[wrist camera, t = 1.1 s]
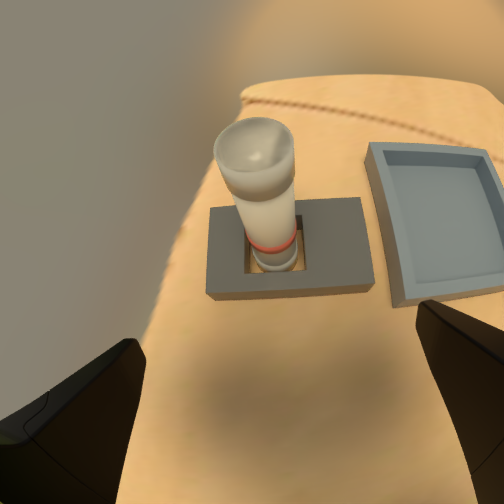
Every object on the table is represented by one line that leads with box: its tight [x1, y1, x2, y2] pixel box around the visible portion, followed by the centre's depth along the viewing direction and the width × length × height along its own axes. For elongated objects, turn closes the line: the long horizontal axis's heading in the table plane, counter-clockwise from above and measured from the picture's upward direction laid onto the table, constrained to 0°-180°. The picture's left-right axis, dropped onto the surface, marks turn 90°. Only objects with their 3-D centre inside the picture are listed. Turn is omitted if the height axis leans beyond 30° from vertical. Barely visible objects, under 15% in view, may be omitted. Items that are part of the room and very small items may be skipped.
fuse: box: [214, 117, 298, 273], centre depth 18 cm, size 3×3×13 cm
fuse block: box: [206, 197, 375, 301], centre depth 22 cm, size 7×12×2 cm, turn 90°
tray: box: [364, 142, 504, 308], centre depth 21 cm, size 14×14×3 cm
